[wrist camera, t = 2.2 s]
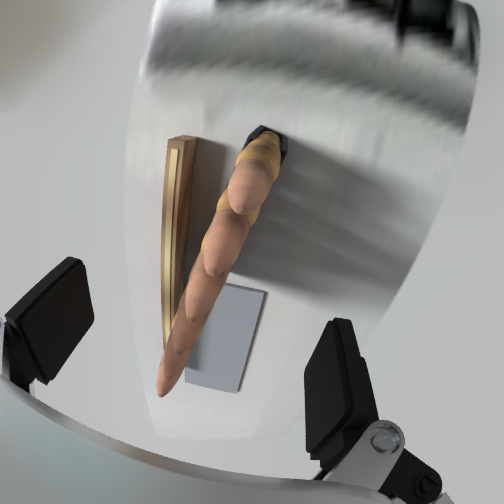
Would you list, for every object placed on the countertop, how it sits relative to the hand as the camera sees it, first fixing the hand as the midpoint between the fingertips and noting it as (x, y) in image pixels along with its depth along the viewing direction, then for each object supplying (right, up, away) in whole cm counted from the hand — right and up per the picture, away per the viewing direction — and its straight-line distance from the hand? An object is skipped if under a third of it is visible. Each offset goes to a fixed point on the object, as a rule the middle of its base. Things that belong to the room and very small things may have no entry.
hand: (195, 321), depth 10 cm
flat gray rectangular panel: (-1, -6, +15) cm, 17 cm away
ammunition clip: (+1, +6, +9) cm, 11 cm away
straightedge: (-4, 0, +12) cm, 13 cm away
